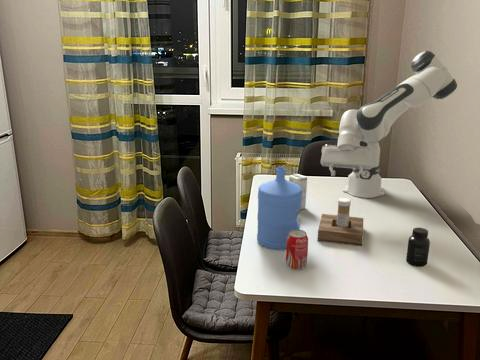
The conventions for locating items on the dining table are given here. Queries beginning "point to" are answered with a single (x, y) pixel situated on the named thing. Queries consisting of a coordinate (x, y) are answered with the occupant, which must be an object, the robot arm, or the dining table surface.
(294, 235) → the soda can
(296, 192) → the water jug
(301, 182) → the syrup box
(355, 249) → the dining table surface
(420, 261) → the supplement bottle
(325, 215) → the socket block
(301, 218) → the dining table surface
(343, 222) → the sprinkles bottle
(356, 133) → the robot arm
